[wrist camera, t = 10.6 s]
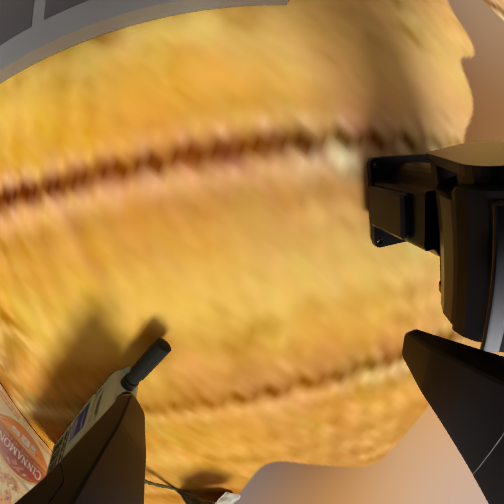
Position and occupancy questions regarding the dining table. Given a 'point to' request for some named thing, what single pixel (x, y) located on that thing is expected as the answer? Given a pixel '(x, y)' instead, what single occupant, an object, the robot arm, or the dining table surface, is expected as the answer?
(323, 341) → the dining table surface
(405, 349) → the robot arm
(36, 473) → the coffeecake box
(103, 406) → the handheld radio
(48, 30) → the power strip
